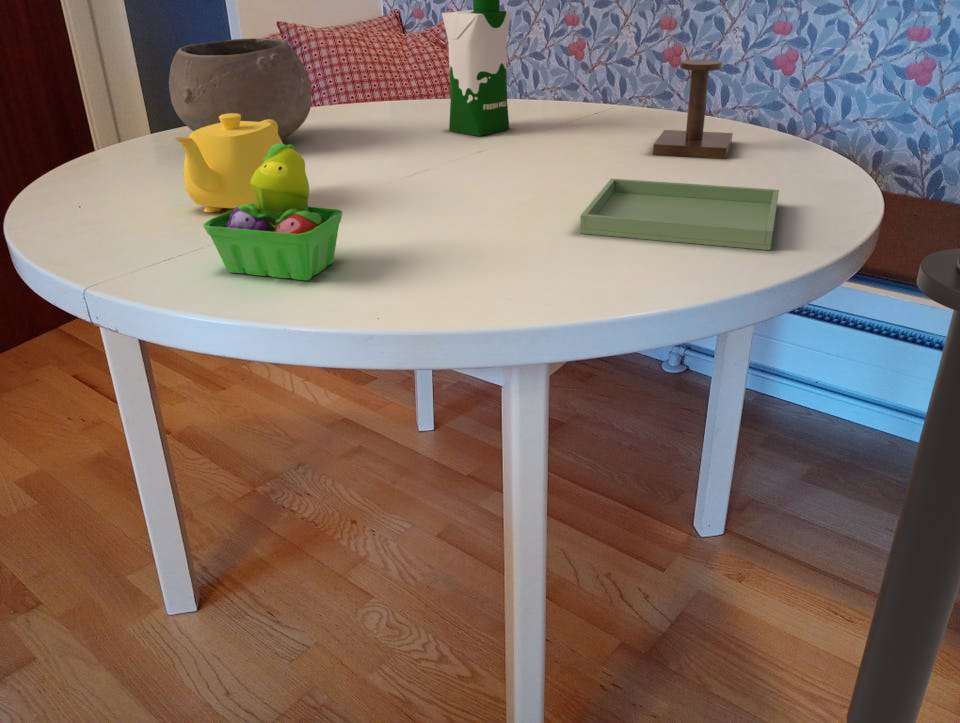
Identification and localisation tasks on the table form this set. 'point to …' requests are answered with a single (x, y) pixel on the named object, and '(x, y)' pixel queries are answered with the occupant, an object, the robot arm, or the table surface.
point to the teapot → (226, 160)
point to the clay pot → (240, 83)
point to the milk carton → (478, 68)
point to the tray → (683, 213)
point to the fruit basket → (277, 224)
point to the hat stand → (695, 120)
